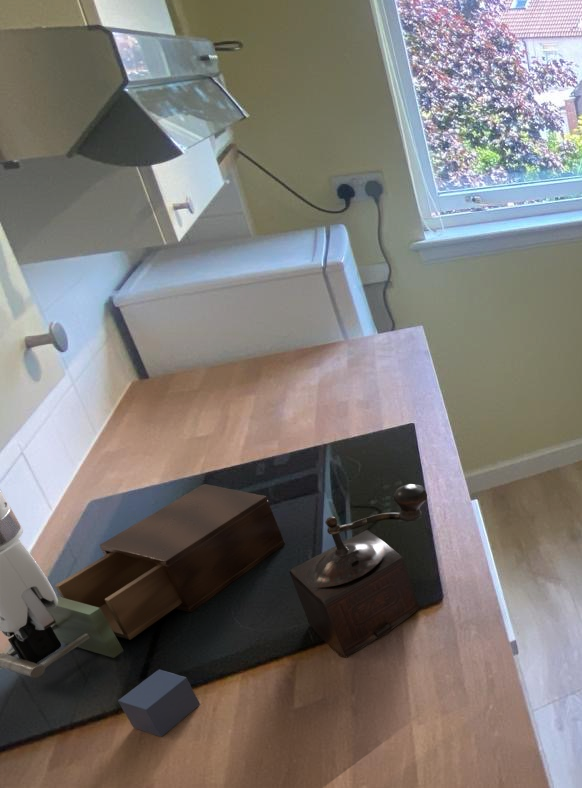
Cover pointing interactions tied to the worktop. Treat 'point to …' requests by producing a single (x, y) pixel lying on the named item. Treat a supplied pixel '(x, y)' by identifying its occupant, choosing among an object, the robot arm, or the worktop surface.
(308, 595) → the manual coffee grinder
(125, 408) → the worktop surface
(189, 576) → the cabinet
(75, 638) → the drawer
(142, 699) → the block
